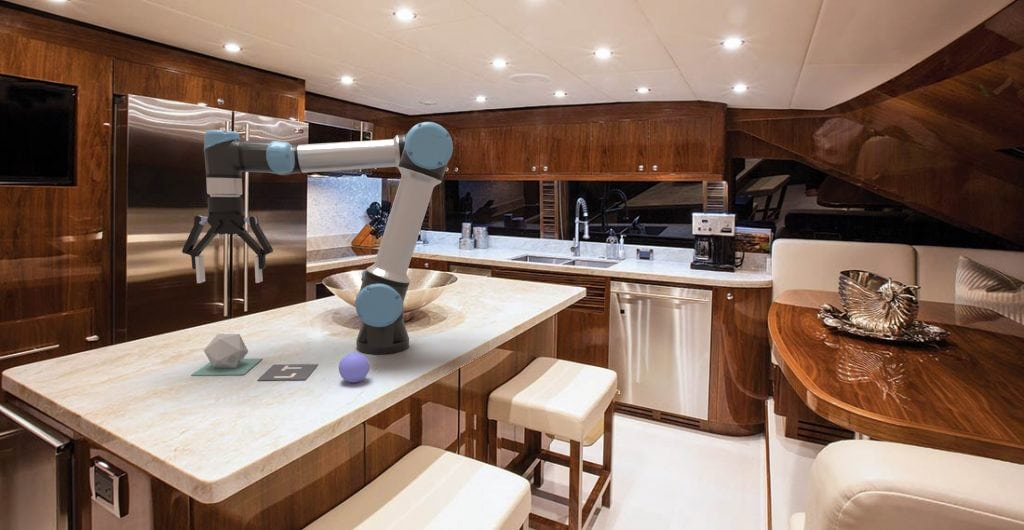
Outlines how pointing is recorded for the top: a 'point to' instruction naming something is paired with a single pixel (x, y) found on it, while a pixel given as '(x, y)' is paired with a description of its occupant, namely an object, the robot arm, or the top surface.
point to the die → (226, 351)
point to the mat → (228, 369)
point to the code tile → (288, 372)
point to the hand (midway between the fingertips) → (230, 282)
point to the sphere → (354, 367)
